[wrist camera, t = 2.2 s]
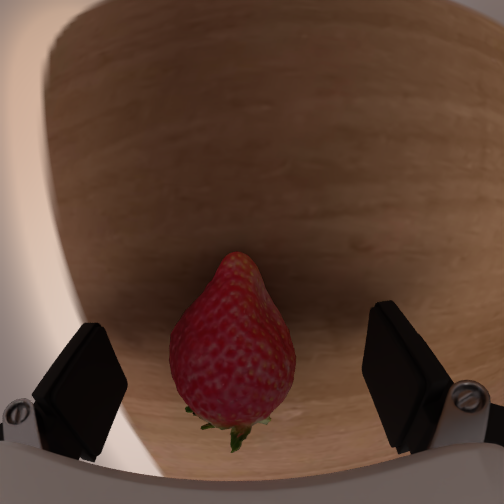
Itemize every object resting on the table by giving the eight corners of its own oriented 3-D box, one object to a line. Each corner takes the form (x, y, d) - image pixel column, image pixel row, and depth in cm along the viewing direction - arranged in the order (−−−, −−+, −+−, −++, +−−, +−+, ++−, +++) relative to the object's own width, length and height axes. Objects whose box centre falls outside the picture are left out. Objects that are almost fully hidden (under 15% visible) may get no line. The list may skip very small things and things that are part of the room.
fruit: (309, 249, 10) (350, 338, 6) (278, 374, 12) (286, 470, 8) (186, 233, 10) (137, 314, 5) (182, 363, 12) (158, 457, 8)
